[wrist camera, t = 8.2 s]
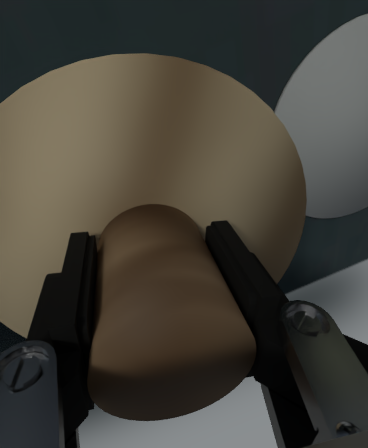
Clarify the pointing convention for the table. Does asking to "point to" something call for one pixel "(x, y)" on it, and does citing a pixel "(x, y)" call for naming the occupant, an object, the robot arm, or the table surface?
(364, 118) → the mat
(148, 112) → the lid
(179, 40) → the table surface
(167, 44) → the table surface
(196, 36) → the table surface
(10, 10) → the table surface
